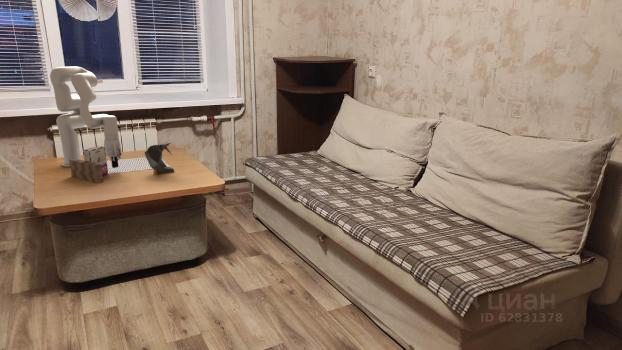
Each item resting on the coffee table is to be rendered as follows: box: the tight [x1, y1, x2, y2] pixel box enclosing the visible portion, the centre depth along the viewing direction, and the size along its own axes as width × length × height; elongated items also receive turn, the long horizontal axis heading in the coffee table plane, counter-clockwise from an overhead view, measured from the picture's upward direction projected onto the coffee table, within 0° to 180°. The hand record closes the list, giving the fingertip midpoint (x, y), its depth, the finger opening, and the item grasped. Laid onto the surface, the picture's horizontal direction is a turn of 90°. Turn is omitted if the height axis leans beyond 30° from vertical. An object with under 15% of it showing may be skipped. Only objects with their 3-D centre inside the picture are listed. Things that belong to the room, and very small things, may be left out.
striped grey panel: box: [69, 159, 104, 184], centre depth 247 cm, size 24×3×10 cm, turn 60°
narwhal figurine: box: [144, 142, 175, 175], centre depth 260 cm, size 14×15×18 cm
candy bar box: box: [83, 145, 109, 177], centre depth 252 cm, size 11×5×16 cm, turn 159°
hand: (115, 167), depth 263 cm, fingers closed
